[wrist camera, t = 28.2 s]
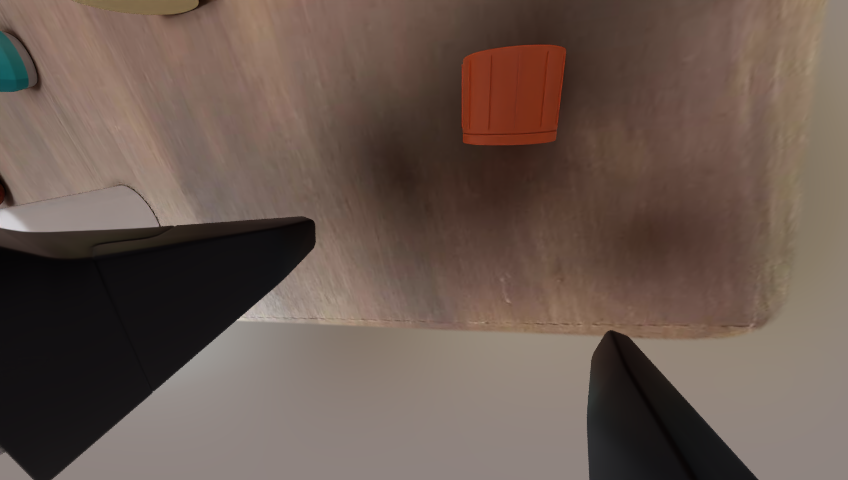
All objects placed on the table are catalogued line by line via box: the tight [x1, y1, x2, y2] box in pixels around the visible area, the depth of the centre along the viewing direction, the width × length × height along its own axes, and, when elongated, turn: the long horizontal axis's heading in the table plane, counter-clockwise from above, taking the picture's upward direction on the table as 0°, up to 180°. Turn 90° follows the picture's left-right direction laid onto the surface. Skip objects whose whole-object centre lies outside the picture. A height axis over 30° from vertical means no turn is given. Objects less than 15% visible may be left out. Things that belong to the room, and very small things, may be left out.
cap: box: [462, 45, 566, 145], centre depth 13 cm, size 4×4×3 cm
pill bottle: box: [0, 185, 160, 232], centre depth 29 cm, size 8×8×11 cm
